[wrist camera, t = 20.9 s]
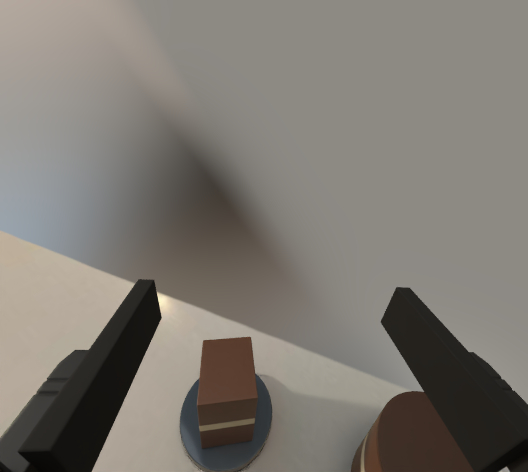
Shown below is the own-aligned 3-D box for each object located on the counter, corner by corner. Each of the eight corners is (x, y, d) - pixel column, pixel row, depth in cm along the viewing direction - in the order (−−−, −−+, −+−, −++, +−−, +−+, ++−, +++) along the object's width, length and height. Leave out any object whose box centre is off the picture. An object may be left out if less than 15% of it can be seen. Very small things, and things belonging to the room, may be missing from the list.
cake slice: (206, 384, 27) (203, 340, 23) (247, 379, 28) (250, 336, 24) (201, 448, 22) (196, 405, 18) (252, 440, 22) (258, 397, 19)
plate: (261, 363, 31) (261, 358, 30) (281, 459, 22) (283, 455, 22) (184, 376, 28) (184, 371, 28) (175, 489, 20) (173, 485, 19)
